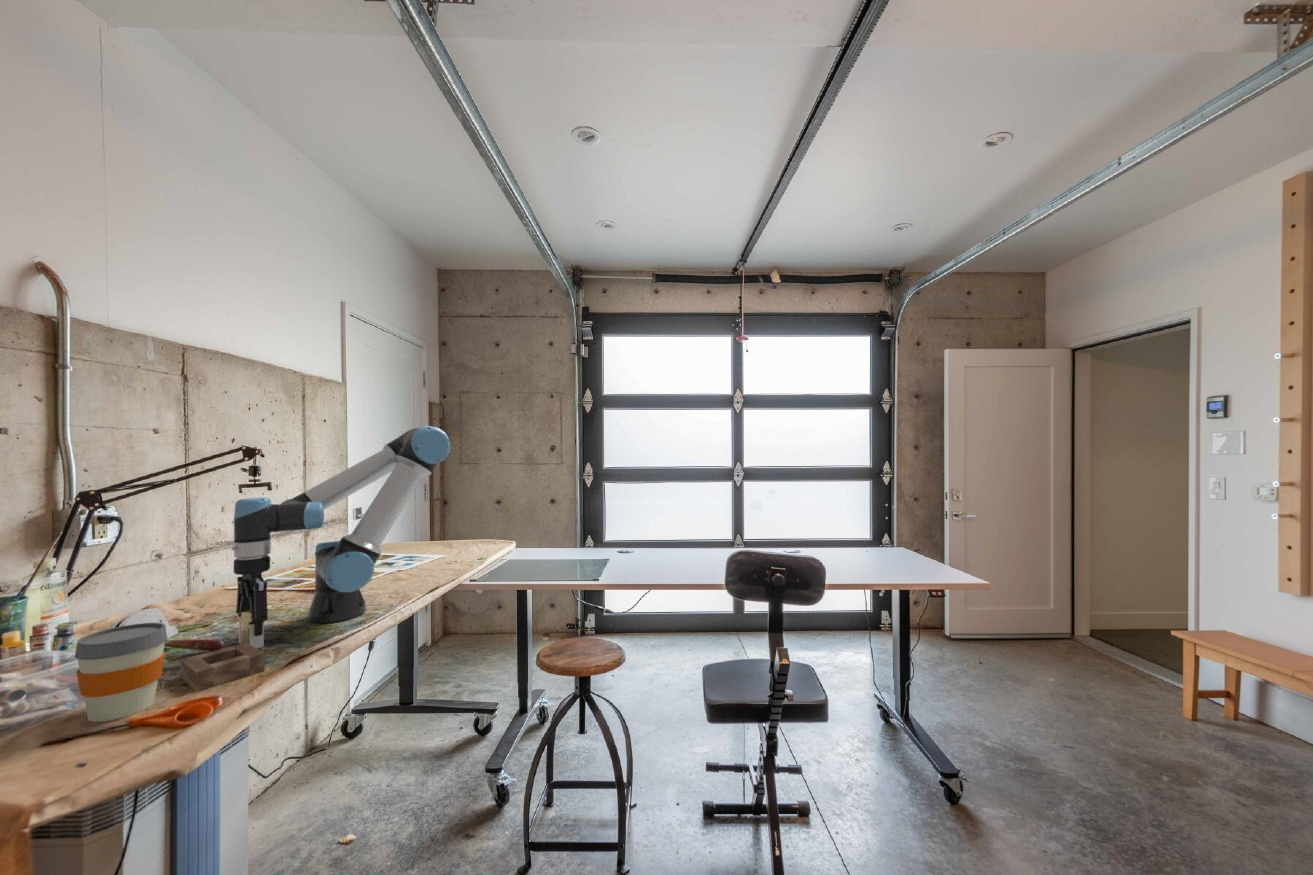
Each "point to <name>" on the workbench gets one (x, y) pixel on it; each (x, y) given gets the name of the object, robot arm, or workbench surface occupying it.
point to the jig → (221, 666)
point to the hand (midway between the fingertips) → (251, 644)
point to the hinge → (147, 620)
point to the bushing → (245, 626)
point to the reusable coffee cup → (120, 669)
